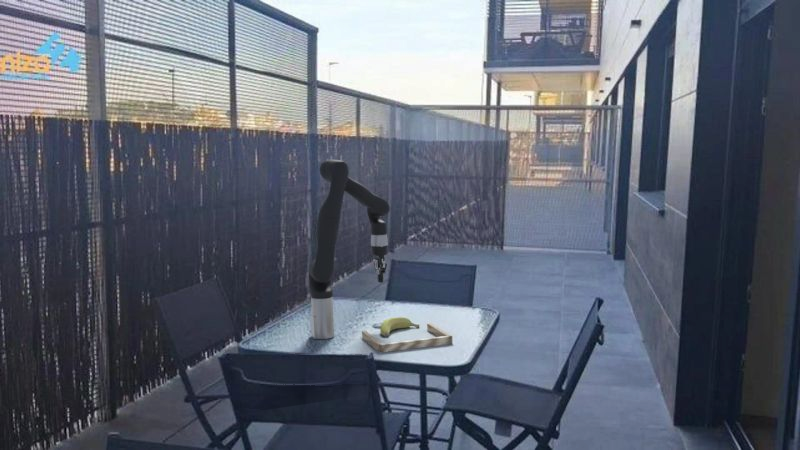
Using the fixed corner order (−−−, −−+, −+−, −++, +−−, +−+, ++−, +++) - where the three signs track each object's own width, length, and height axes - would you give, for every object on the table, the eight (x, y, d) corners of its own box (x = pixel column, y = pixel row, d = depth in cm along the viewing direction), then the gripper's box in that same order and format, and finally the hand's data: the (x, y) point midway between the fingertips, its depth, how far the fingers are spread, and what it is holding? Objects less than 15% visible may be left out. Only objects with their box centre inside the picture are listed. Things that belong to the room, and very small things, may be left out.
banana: (374, 314, 302) (415, 314, 311) (372, 326, 304) (413, 325, 312) (385, 329, 290) (428, 329, 299) (383, 341, 292) (425, 340, 300)
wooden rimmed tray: (379, 352, 270) (379, 345, 269) (362, 337, 292) (361, 330, 291) (452, 343, 280) (452, 336, 280) (430, 329, 302) (430, 323, 302)
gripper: (367, 243, 317) (368, 280, 319) (375, 246, 305) (377, 285, 307) (382, 242, 320) (383, 279, 322) (392, 245, 308) (393, 284, 309)
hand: (380, 282), depth 314 cm, fingers closed
